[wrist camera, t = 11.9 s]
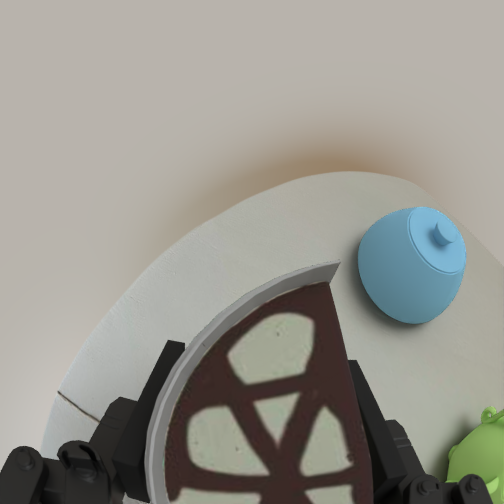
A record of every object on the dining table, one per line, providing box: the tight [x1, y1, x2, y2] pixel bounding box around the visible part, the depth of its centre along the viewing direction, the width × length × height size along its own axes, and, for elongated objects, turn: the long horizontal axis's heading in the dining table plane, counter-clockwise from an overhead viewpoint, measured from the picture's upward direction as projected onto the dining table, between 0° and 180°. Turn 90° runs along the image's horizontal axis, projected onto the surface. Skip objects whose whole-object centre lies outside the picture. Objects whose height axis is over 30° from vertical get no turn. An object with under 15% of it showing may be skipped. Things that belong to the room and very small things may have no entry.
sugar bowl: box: [358, 207, 466, 324], centre depth 31 cm, size 15×15×12 cm
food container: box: [144, 260, 373, 504], centre depth 9 cm, size 12×6×10 cm, turn 8°
